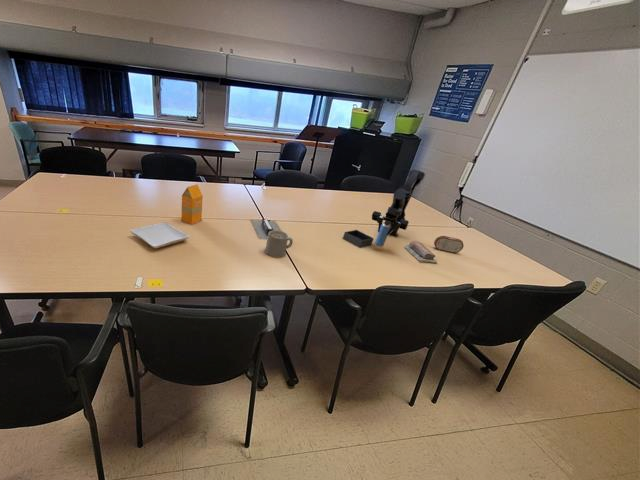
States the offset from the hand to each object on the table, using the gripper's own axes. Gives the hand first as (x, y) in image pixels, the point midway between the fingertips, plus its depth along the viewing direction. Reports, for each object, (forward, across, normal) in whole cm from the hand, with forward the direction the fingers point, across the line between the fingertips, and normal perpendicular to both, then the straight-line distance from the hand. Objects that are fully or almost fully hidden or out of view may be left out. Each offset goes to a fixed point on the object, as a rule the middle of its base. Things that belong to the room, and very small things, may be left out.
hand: (382, 233), depth 171 cm
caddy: (+5, -12, +9) cm, 16 cm away
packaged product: (-3, +21, +18) cm, 27 cm away
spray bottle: (+4, 0, +6) cm, 7 cm away
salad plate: (+64, -86, -50) cm, 118 cm away
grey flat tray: (+25, -57, -11) cm, 63 cm away
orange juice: (+43, -93, -29) cm, 107 cm away
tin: (-17, +32, +32) cm, 49 cm away
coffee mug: (+40, -37, -26) cm, 60 cm away
